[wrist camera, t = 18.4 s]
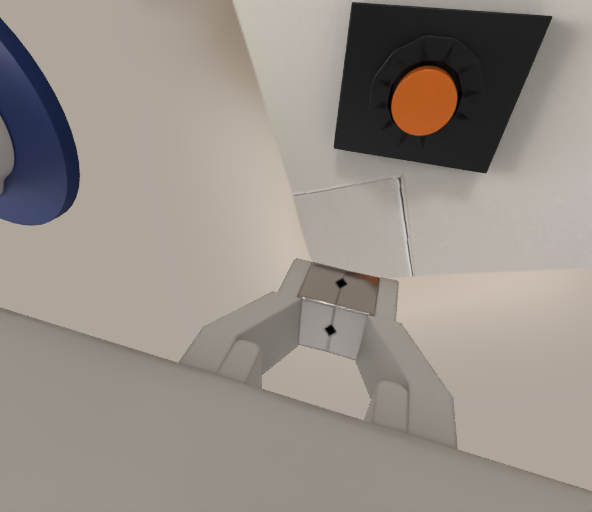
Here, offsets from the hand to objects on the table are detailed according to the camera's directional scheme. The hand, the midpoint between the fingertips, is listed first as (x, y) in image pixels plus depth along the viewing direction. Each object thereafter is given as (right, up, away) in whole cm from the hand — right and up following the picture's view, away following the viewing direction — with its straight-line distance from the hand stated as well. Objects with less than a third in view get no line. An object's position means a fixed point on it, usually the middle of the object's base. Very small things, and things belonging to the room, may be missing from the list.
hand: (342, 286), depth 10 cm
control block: (+8, +13, +14) cm, 20 cm away
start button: (+7, +11, +11) cm, 17 cm away
